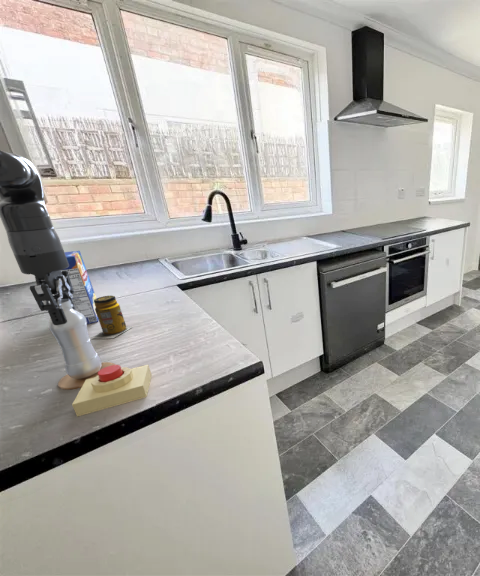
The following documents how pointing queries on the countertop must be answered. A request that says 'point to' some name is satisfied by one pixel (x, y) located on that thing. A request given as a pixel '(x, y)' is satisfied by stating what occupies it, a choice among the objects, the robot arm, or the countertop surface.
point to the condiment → (109, 317)
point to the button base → (112, 390)
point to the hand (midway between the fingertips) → (65, 318)
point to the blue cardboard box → (81, 287)
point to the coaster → (72, 383)
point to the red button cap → (110, 373)
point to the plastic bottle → (75, 343)
